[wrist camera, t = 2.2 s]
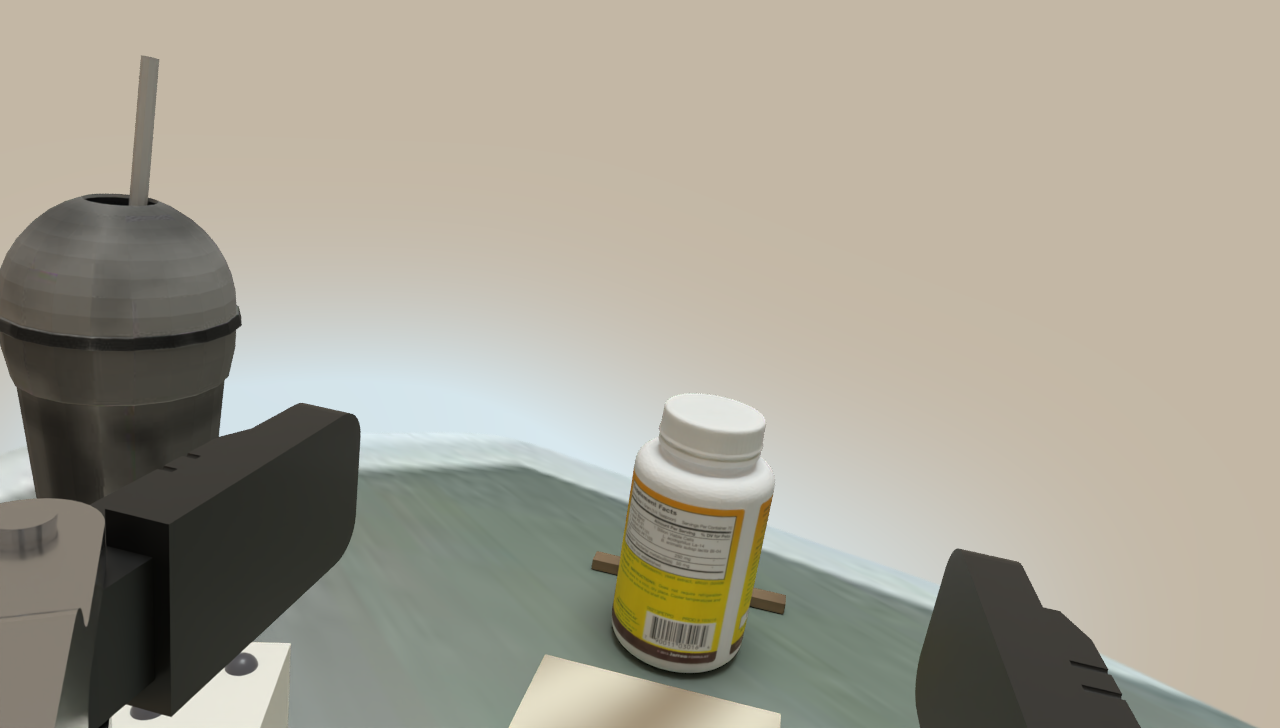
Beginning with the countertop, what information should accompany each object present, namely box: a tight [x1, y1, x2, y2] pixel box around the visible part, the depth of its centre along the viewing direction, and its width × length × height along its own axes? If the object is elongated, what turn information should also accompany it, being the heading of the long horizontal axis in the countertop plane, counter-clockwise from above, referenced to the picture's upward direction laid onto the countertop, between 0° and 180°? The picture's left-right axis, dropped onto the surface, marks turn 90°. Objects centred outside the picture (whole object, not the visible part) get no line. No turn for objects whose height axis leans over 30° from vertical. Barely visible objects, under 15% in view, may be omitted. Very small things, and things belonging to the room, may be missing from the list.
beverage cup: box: [0, 56, 242, 505], centre depth 29 cm, size 7×7×20 cm
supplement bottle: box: [612, 393, 775, 673], centre depth 34 cm, size 6×6×10 cm
